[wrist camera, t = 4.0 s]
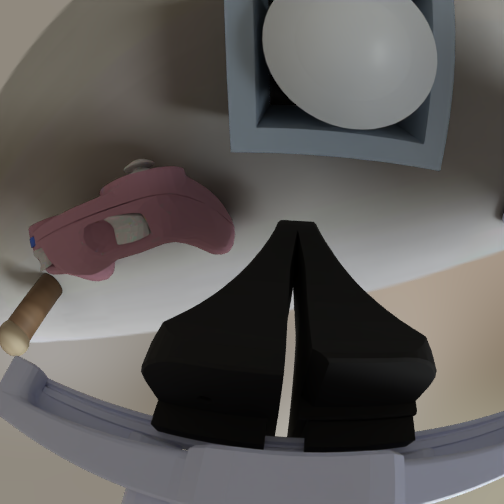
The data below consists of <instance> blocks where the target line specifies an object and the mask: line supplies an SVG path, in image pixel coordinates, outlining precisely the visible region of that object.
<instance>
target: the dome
mask: <svg viewBox="0 0 504 504" xmlns="http://www.w3.org/2000/svg"><path fill="white" fill-rule="evenodd" d="M262 41H263V51H264V55H265V59H266V62H267V65H268V67H269V70H270V72H271V74H272V76H273V78H274V79H275V81H276V83H277V84H278V85H279V87H280V88H281V90H282V91H283V92H284V93H285V94H286V95H287V96H288V98H289V99H290V100H291V101H293V102H294V103H295V104H296V105H297V106H298V107H300V108H301V109H302V110H304V111H305V112H307V113H308V114H310V115H312V116H314V117H315V118H317V119H319V120H321V121H324V122H326V123H329V124H332V125H335V126H339V127H343V128H349V129H361V130H365V129H376V128H381V127H386V126H389V125H392V124H394V123H397V122H399V121H401V120H403V119H404V118H406V117H407V116H409V115H410V114H412V113H413V112H414V111H415V110H416V109H417V108H419V106H420V105H421V104H422V103H423V102H424V100H425V99H426V97H427V96H428V94H429V92H430V90H431V88H432V86H433V83H434V80H435V76H436V70H437V50H436V44H435V40H434V37H433V34H432V31H431V29H430V27H429V24H428V22H427V21H426V19H425V17H424V16H423V14H422V13H421V11H420V10H419V9H418V7H417V6H416V5H415V4H414V3H413V2H412V1H411V0H274V1H273V2H272V4H271V6H270V8H269V10H268V12H267V15H266V18H265V21H264V26H263V37H262Z"/></svg>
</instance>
